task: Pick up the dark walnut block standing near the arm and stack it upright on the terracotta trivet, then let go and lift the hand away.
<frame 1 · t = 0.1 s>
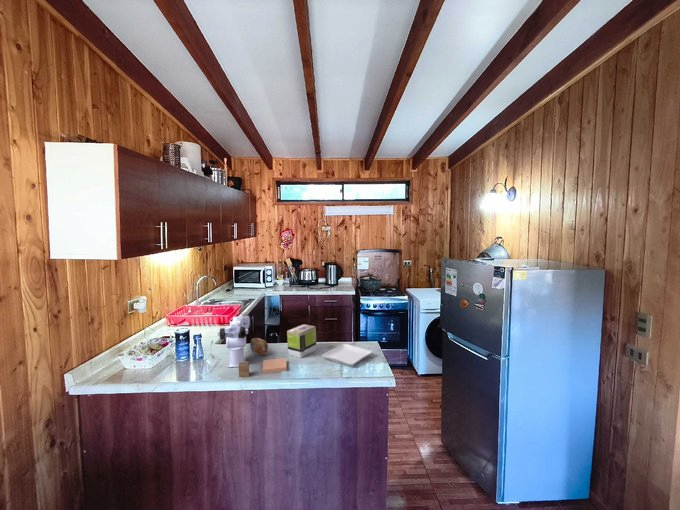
hand: (230, 336, 156), 22 cm above the counter, tool horizontal, fingers open, 7 cm apart
salad plate: (347, 358, 182), on the counter
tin: (259, 353, 192), on the counter
terracotta trivet: (274, 368, 171), on the counter
tea box: (302, 352, 191), on the counter
walnut block: (244, 375, 162), on the counter
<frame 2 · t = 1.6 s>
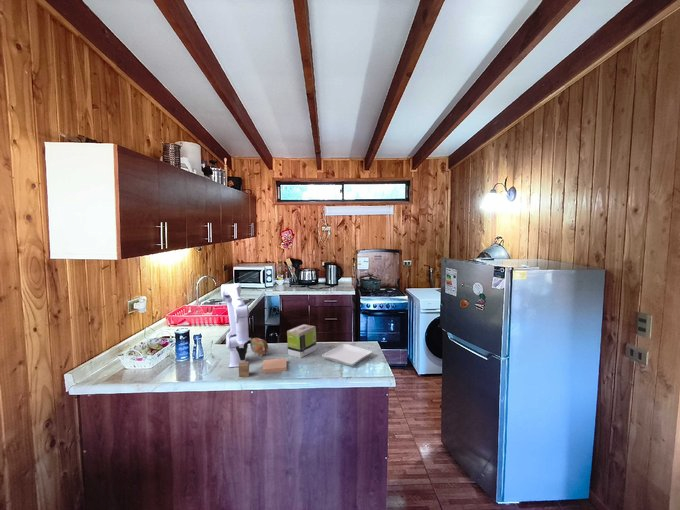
hand: (243, 356, 162), 9 cm above the counter, tool pointing down, fingers open, 7 cm apart
nothing on the counter moved.
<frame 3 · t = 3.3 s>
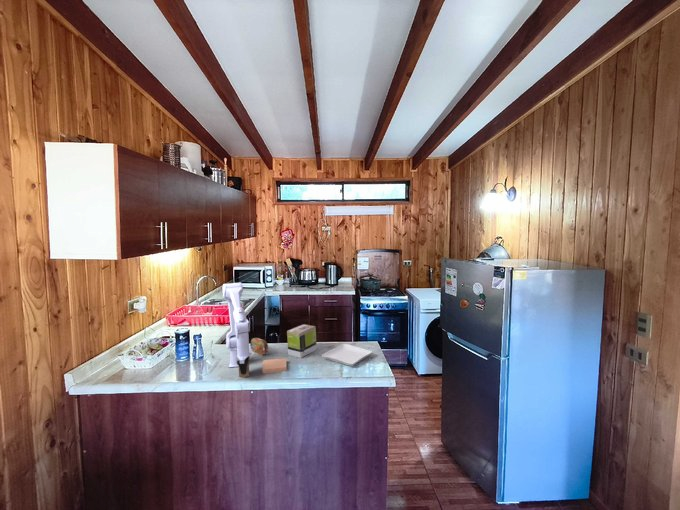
hand: (244, 371, 162), 2 cm above the counter, tool pointing down, fingers closed on walnut block, 4 cm apart
walnut block: (244, 375, 162), on the counter, touching gripper
everything else where it was.
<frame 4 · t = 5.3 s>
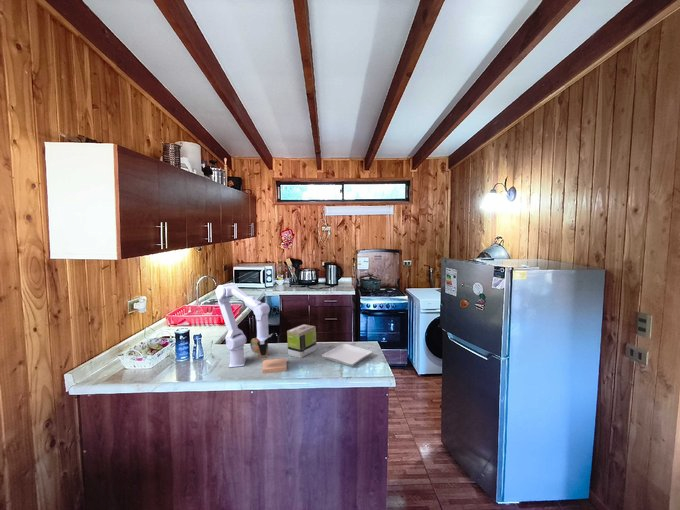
hand: (263, 353, 167), 9 cm above the counter, tool pointing down, fingers closed on walnut block, 4 cm apart
walnut block: (263, 356, 167), point 7 cm above the counter, touching gripper
everything else where it was.
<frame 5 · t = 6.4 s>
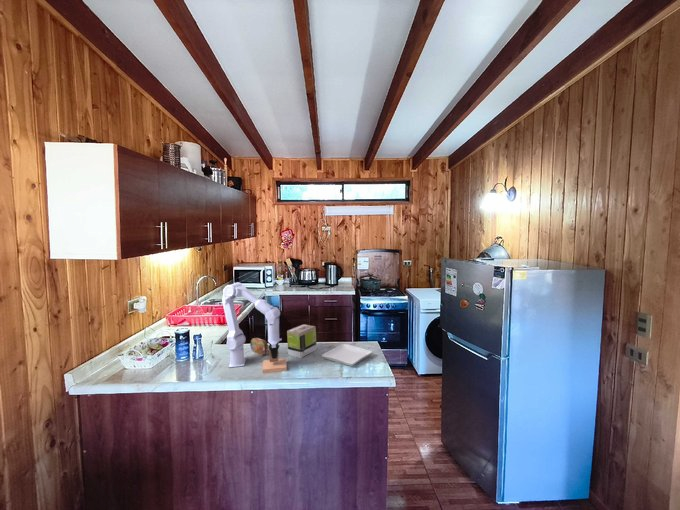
hand: (274, 356, 171), 6 cm above the counter, tool pointing down, fingers closed on walnut block, 4 cm apart
walnut block: (274, 360, 171), point 4 cm above the counter, touching gripper
everything else where it was.
when the fingers open (5 cm above the counter, at t = 7.4 s): walnut block drops 1 cm, point 2 cm above the counter.
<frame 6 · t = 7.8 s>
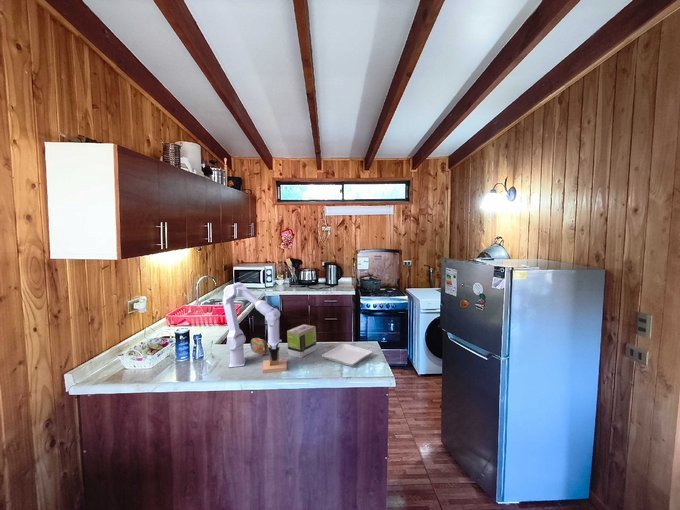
hand: (274, 357, 171), 5 cm above the counter, tool pointing down, fingers open, 7 cm apart
walnut block: (274, 363, 171), point 2 cm above the counter
everything else where it was.
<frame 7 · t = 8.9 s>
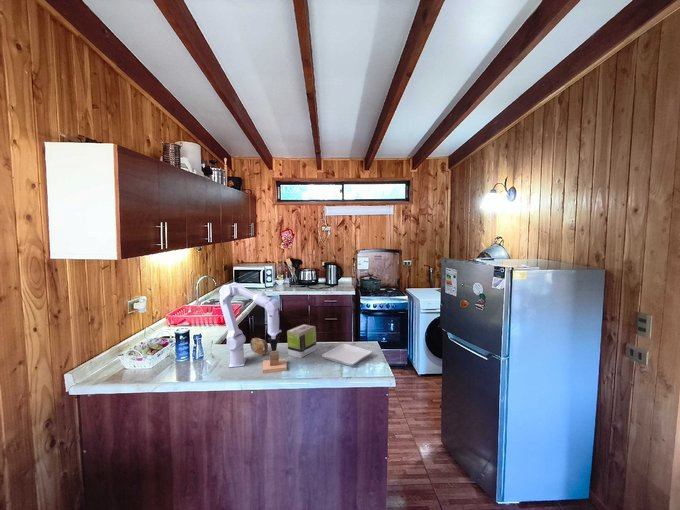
hand: (274, 348, 170), 10 cm above the counter, tool pointing down, fingers open, 7 cm apart
nothing on the counter moved.
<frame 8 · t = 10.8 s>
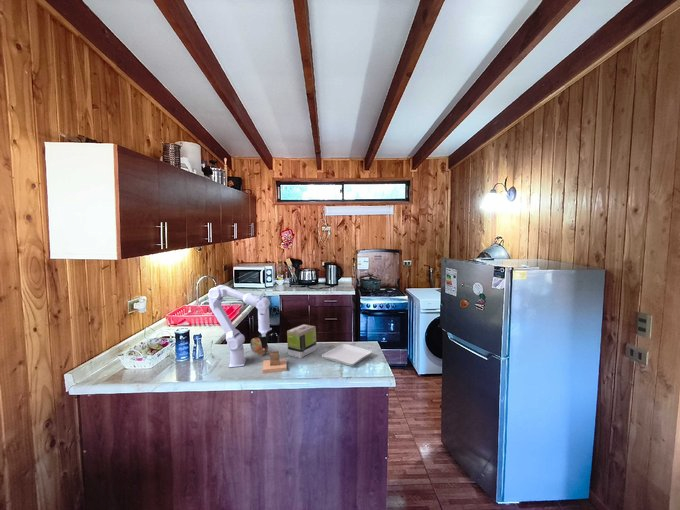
hand: (264, 345, 174), 10 cm above the counter, tool pointing down, fingers open, 7 cm apart
terracotta trivet: (274, 368, 171), on the counter, touching walnut block
walnut block: (274, 363, 171), point 2 cm above the counter, touching terracotta trivet
everything else where it was.
at the end: walnut block inside the target area on the terracotta trivet (0.2 cm from its centre), point 2.5 cm above the terracotta trivet's base; walnut block tilted 0°; the gripper is holding nothing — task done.
